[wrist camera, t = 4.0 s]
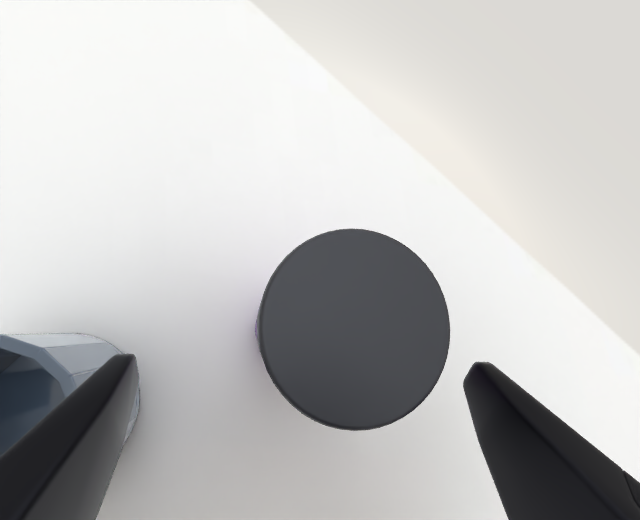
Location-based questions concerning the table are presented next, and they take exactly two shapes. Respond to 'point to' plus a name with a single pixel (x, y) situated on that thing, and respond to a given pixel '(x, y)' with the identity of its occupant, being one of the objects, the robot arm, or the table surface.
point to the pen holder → (45, 377)
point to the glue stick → (353, 329)
